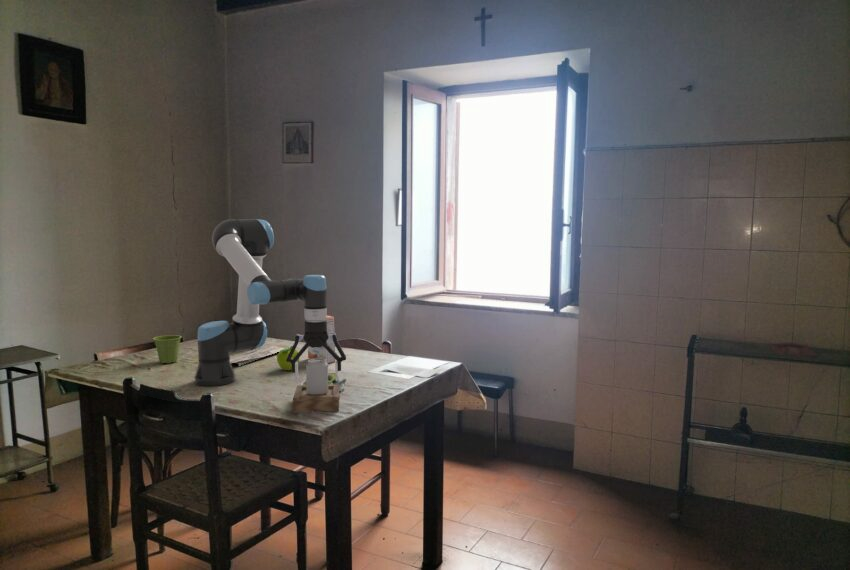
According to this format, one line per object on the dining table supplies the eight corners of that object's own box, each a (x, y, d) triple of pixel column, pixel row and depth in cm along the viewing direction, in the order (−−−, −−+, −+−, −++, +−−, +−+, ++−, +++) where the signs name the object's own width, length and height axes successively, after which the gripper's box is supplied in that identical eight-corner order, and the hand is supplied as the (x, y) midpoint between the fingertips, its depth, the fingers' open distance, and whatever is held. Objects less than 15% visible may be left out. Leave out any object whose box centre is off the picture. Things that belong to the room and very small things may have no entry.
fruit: (304, 369, 257) (303, 346, 256) (288, 373, 249) (287, 350, 248) (289, 366, 262) (288, 343, 261) (272, 370, 254) (272, 347, 253)
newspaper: (267, 350, 295) (267, 343, 294) (288, 352, 290) (288, 345, 290) (217, 366, 262) (217, 358, 262) (240, 369, 258) (240, 361, 257)
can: (323, 397, 203) (322, 362, 202) (303, 396, 205) (302, 361, 203) (331, 391, 210) (331, 357, 209) (311, 389, 212) (311, 356, 211)
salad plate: (349, 396, 219) (349, 384, 219) (299, 399, 216) (299, 386, 215) (346, 382, 238) (346, 370, 238) (300, 384, 235) (300, 372, 234)
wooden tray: (293, 412, 200) (292, 398, 199) (297, 399, 214) (297, 385, 214) (338, 411, 201) (338, 396, 201) (339, 397, 216) (339, 384, 216)
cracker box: (307, 359, 275) (306, 314, 272) (318, 356, 279) (317, 312, 277) (324, 364, 265) (323, 317, 262) (335, 362, 269) (335, 316, 266)
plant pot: (187, 359, 274) (186, 335, 273) (174, 365, 262) (173, 340, 261) (162, 358, 275) (161, 334, 274) (148, 364, 263) (147, 339, 262)
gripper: (277, 322, 199) (278, 385, 202) (352, 321, 202) (353, 382, 205) (279, 319, 207) (281, 379, 209) (352, 317, 210) (353, 376, 212)
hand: (316, 381), depth 207 cm, fingers open, 13 cm apart
